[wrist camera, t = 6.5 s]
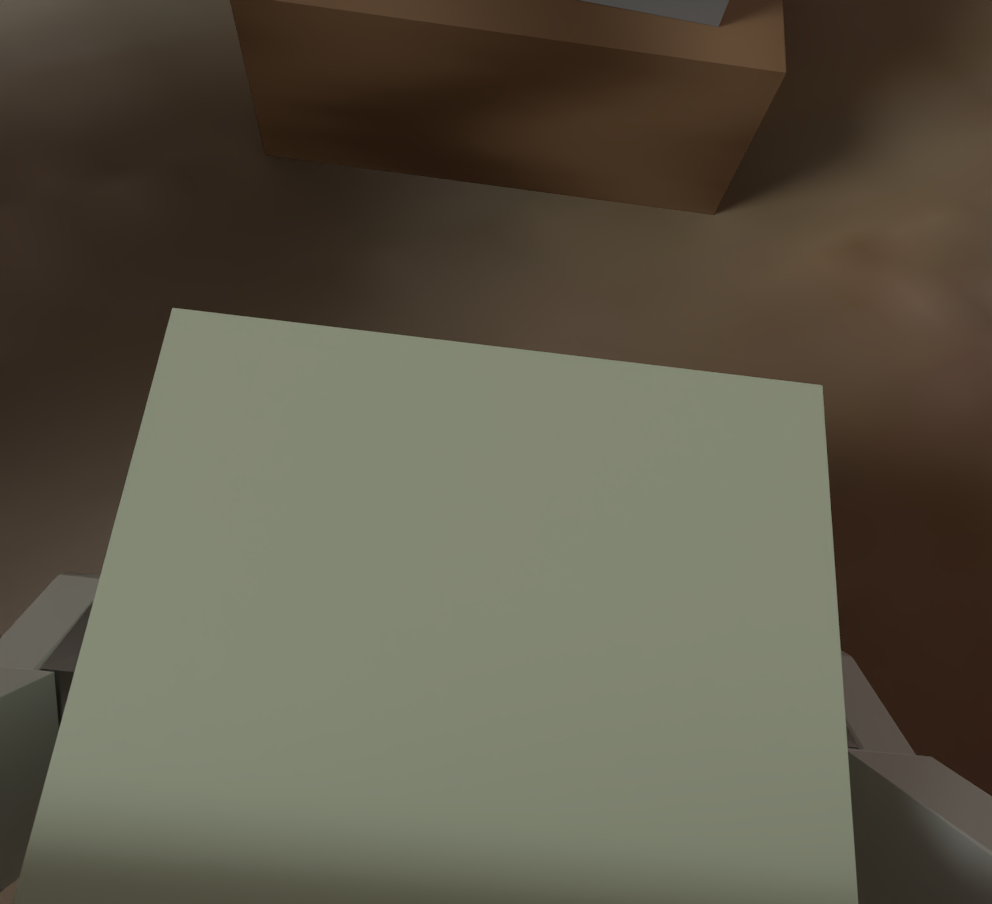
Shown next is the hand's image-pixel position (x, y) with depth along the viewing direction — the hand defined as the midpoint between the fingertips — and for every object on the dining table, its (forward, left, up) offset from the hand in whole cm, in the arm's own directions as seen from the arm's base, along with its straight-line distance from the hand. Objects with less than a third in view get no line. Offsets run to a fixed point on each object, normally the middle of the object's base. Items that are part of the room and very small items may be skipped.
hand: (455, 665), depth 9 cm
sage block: (0, -1, -4) cm, 4 cm away
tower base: (0, +15, -5) cm, 15 cm away
